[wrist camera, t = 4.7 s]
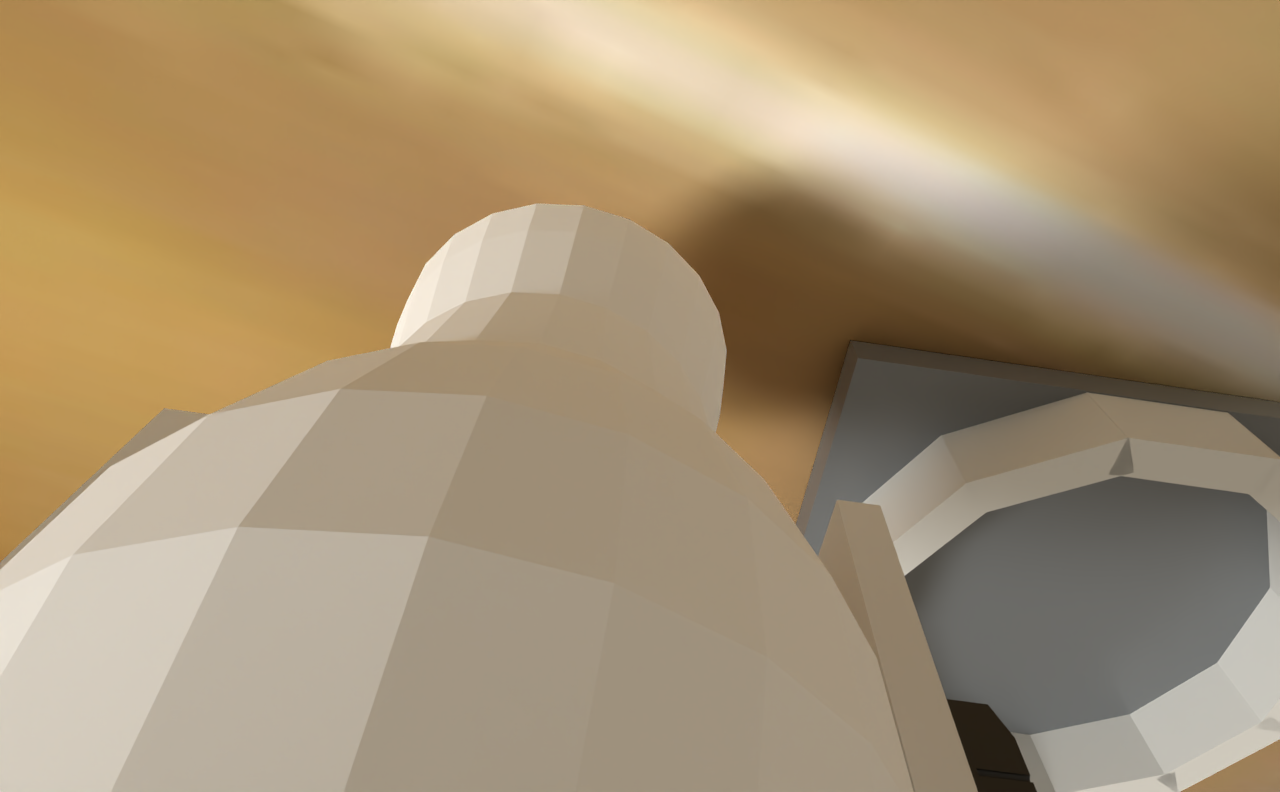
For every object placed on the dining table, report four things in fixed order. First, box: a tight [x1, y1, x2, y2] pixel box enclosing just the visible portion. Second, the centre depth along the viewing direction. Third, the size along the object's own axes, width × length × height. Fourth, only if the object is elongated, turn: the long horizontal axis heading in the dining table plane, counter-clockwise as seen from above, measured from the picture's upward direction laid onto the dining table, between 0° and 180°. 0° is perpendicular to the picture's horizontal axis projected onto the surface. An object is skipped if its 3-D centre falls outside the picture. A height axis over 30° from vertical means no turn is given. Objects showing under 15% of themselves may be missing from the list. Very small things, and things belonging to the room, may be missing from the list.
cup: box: [0, 204, 914, 792], centre depth 13 cm, size 11×11×15 cm
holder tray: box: [796, 340, 1280, 792], centre depth 27 cm, size 16×18×4 cm
